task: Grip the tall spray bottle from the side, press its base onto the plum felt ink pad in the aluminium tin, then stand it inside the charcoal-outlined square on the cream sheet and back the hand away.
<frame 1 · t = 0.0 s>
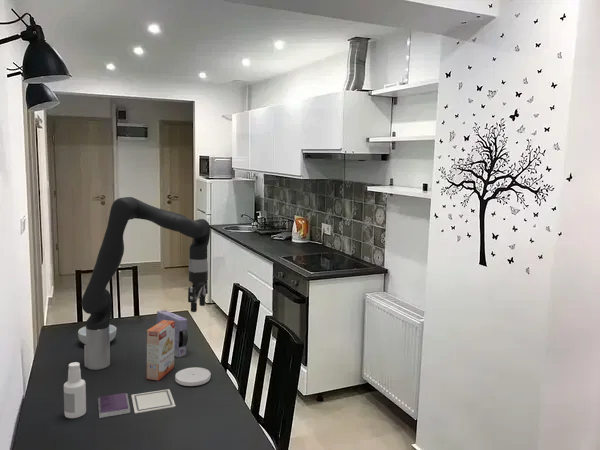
hand: (198, 308, 195), 29 cm above the table, tool pointing down, fingers open, 8 cm apart
cake pan box: (171, 351, 225), on the table
cracker box: (161, 373, 201), on the table
ink pad: (113, 407, 173), on the table
plastic lid: (193, 380, 197), on the table
marked sheet: (153, 401, 178), on the table
cereal bowl: (97, 344, 231), on the table
spray bottle: (75, 414, 168), on the table
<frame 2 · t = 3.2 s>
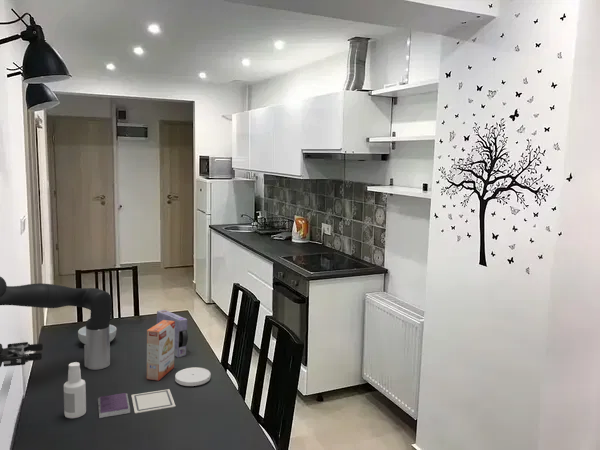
hand: (42, 351, 160), 24 cm above the table, tool horizontal, fingers open, 8 cm apart
nothing on the table moved.
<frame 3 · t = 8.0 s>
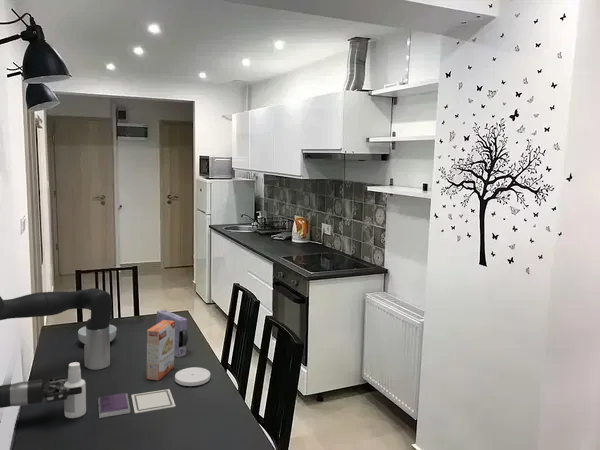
hand: (81, 385, 167), 10 cm above the table, tool horizontal, fingers closed on spray bottle, 7 cm apart
spray bottle: (75, 414, 168), on the table, touching gripper
everything else where it was.
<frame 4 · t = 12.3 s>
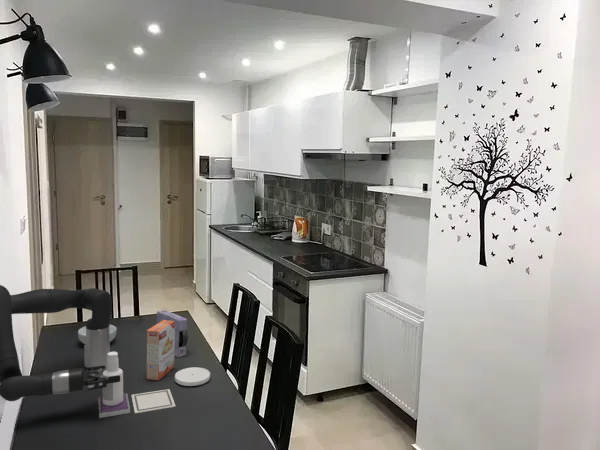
hand: (119, 374, 172), 12 cm above the table, tool horizontal, fingers closed on spray bottle, 7 cm apart
spray bottle: (113, 402, 172), point 2 cm above the table, touching gripper, ink pad
everything else where it was.
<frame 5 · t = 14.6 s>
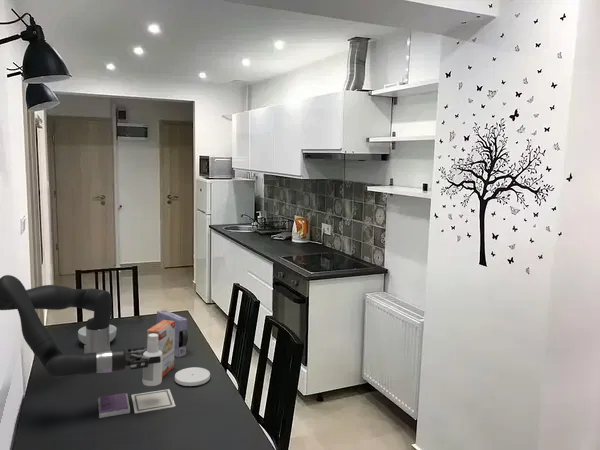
hand: (158, 355, 177), 17 cm above the table, tool horizontal, fingers closed on spray bottle, 7 cm apart
spray bottle: (152, 382, 177), point 7 cm above the table, touching gripper
everything else where it was.
when the fingers open (11 cm above the table, at t = 16.6 s): spray bottle stays where it is, resting on marked sheet.
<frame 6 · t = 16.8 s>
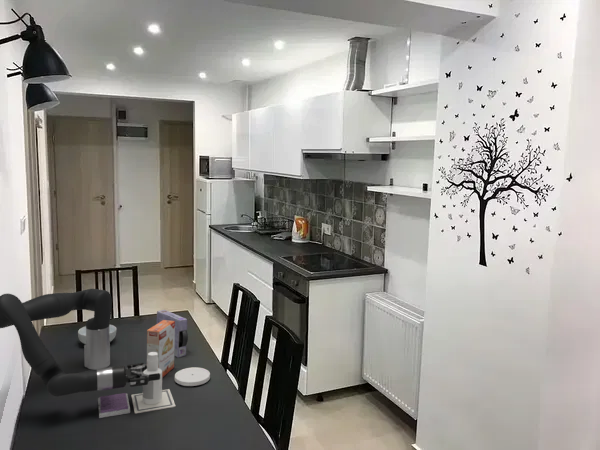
hand: (158, 371, 178), 11 cm above the table, tool horizontal, fingers open, 8 cm apart
spray bottle: (152, 400, 178), resting on marked sheet
everything else where it was.
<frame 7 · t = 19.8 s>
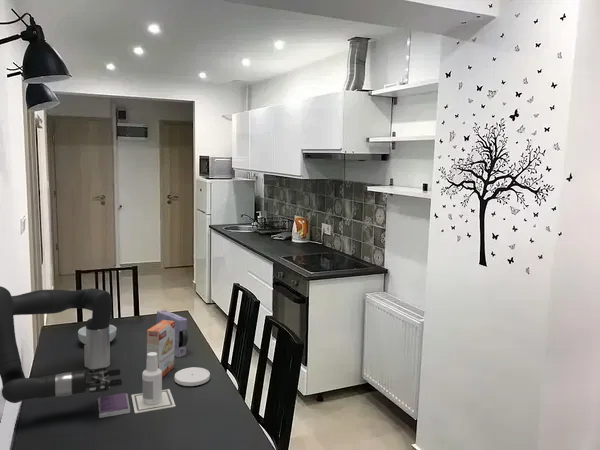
hand: (120, 376, 172), 11 cm above the table, tool horizontal, fingers open, 8 cm apart
nothing on the table moved.
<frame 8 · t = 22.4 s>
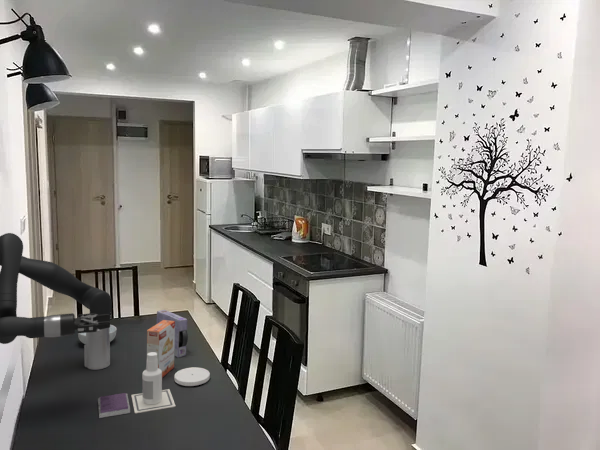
hand: (109, 320, 175), 30 cm above the table, tool horizontal, fingers open, 8 cm apart
nothing on the table moved.
at the end: spray bottle 0.3 cm from the marked sheet (horizontally); spray bottle tilted 0°; the gripper is holding nothing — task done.
